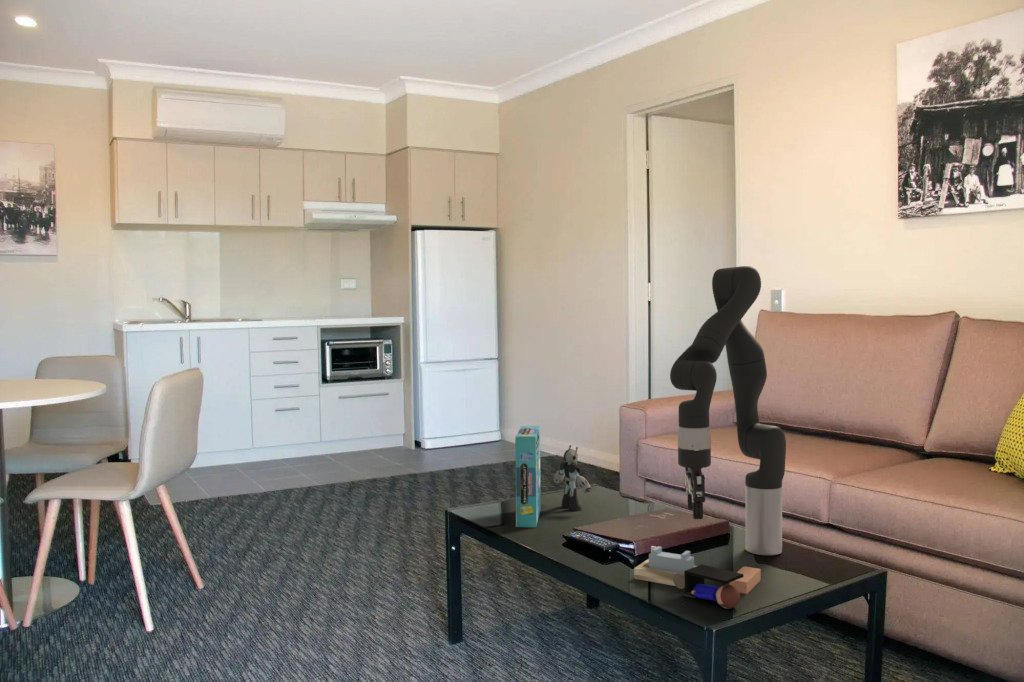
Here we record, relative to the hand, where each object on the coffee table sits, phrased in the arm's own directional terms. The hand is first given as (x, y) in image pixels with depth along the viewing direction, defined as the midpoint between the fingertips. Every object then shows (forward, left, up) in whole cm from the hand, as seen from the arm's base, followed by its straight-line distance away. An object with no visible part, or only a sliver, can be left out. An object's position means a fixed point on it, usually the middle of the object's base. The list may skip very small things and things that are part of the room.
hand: (695, 514), depth 197 cm
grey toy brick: (+2, -5, -15) cm, 16 cm away
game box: (-29, -64, -16) cm, 72 cm away
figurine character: (+12, +7, -16) cm, 21 cm away
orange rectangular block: (-2, +11, -16) cm, 20 cm away
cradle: (+2, -6, -16) cm, 17 cm away
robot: (-47, -59, -16) cm, 77 cm away
